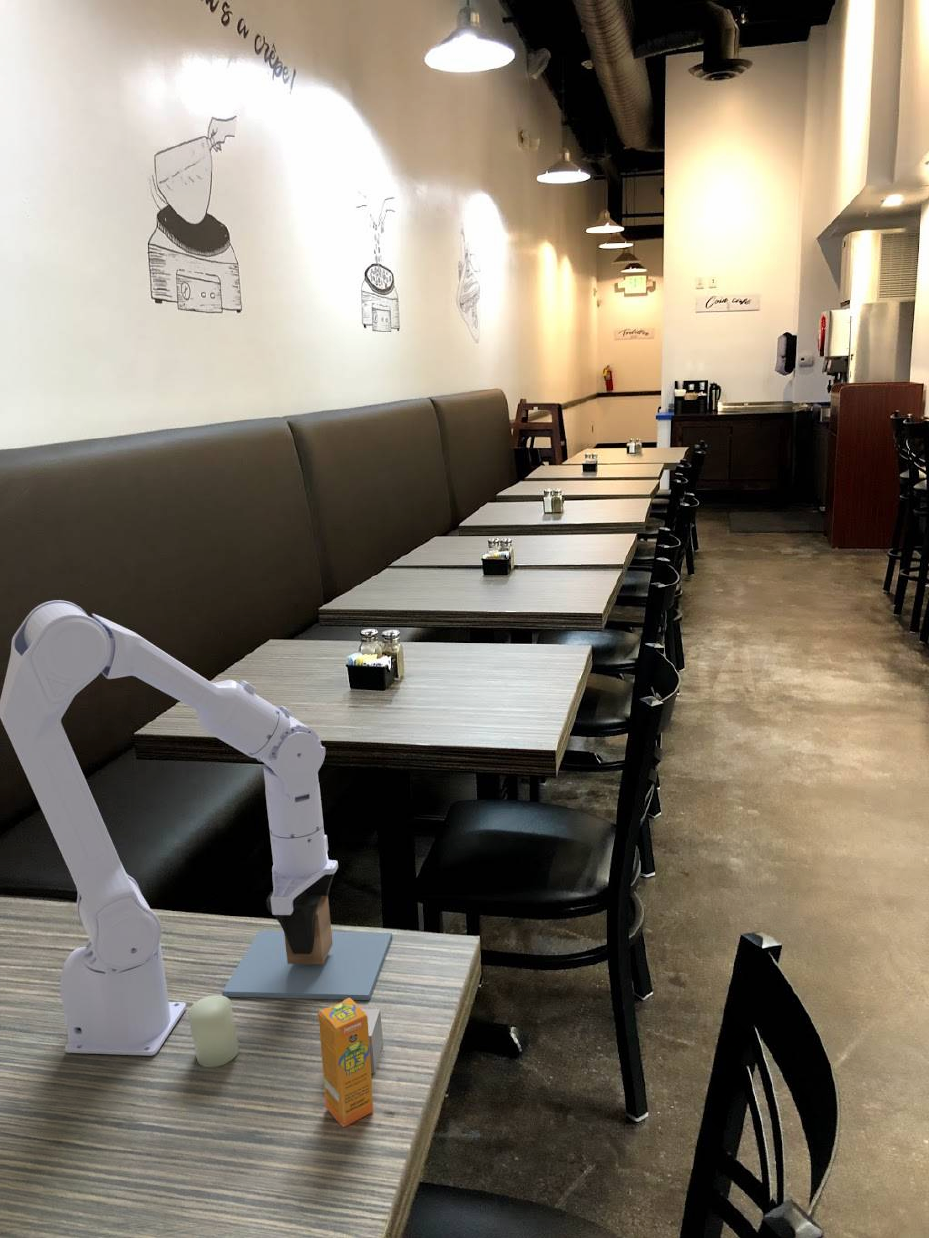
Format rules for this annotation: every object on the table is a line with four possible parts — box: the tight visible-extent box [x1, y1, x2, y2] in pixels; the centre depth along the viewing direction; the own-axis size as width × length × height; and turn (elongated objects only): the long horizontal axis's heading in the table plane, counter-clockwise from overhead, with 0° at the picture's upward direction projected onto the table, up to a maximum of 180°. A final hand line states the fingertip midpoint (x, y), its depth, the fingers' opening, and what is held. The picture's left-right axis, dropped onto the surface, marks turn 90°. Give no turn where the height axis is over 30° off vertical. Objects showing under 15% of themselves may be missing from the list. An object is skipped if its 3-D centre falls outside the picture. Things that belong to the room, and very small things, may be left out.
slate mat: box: [221, 930, 393, 1001], centre depth 108 cm, size 16×12×1 cm
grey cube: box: [361, 1008, 384, 1074], centre depth 92 cm, size 4×4×4 cm
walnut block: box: [284, 895, 333, 964], centre depth 107 cm, size 4×4×6 cm
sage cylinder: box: [187, 994, 240, 1068], centre depth 94 cm, size 4×4×5 cm
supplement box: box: [317, 998, 374, 1128], centre depth 84 cm, size 3×3×10 cm
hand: (308, 940), depth 107 cm, fingers closed on walnut block, 4 cm apart
